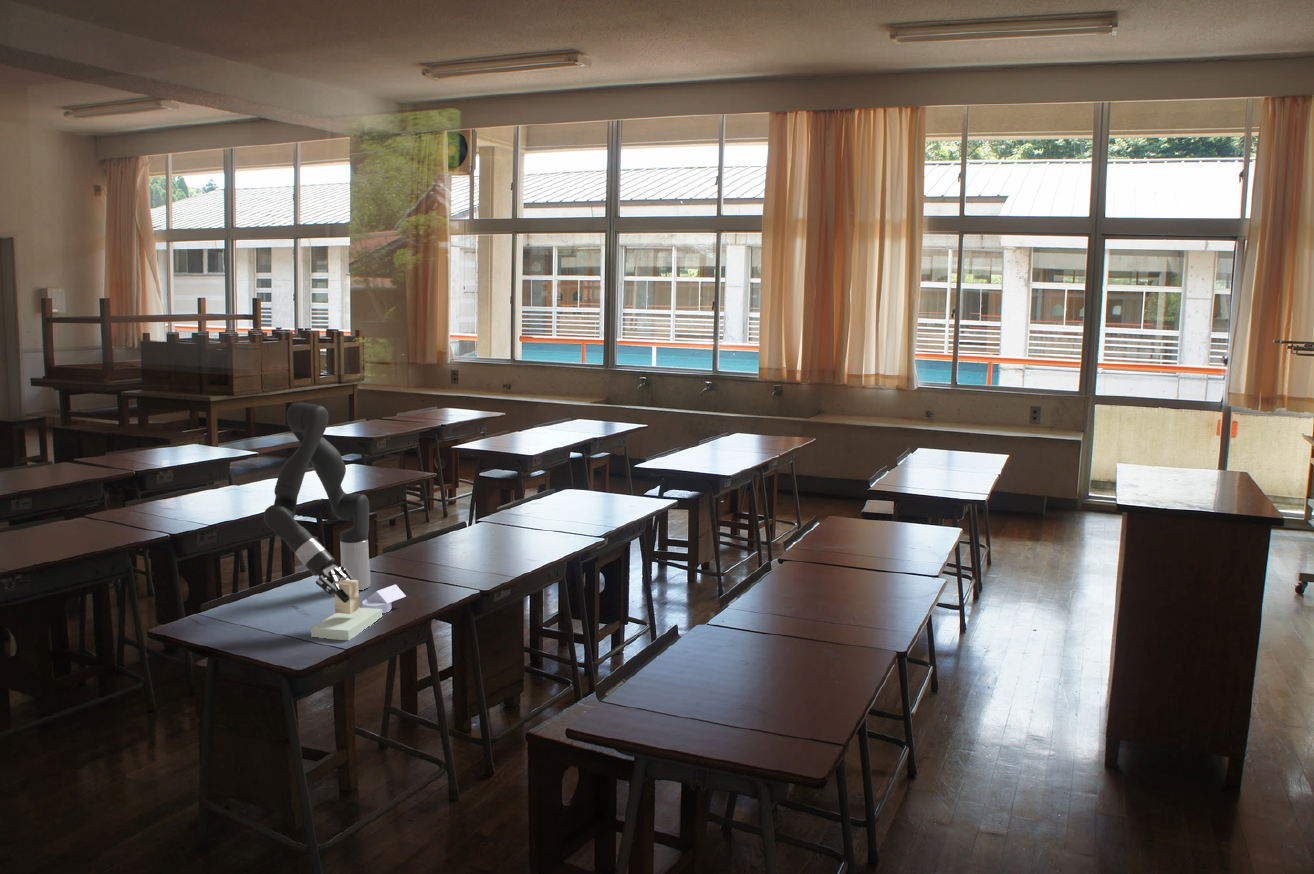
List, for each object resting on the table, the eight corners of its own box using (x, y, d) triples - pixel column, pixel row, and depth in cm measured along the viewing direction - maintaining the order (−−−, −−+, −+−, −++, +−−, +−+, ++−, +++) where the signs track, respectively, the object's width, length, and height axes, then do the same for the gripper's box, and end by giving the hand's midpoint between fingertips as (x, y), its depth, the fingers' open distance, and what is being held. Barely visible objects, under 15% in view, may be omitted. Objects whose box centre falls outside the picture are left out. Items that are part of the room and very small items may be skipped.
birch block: (344, 607, 277) (343, 579, 276) (359, 608, 276) (358, 580, 275) (335, 612, 272) (334, 583, 271) (350, 614, 271) (349, 584, 270)
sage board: (347, 615, 286) (347, 606, 285) (382, 618, 283) (382, 609, 283) (311, 637, 266) (311, 627, 266) (348, 640, 264) (348, 630, 263)
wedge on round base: (386, 602, 300) (356, 613, 288) (385, 582, 299) (355, 592, 287) (406, 606, 296) (377, 617, 284) (406, 586, 295) (376, 596, 283)
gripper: (308, 554, 266) (347, 597, 265) (335, 543, 280) (372, 583, 279) (293, 571, 268) (331, 613, 267) (320, 558, 282) (357, 598, 281)
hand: (352, 597), depth 273 cm, fingers closed on birch block, 5 cm apart
